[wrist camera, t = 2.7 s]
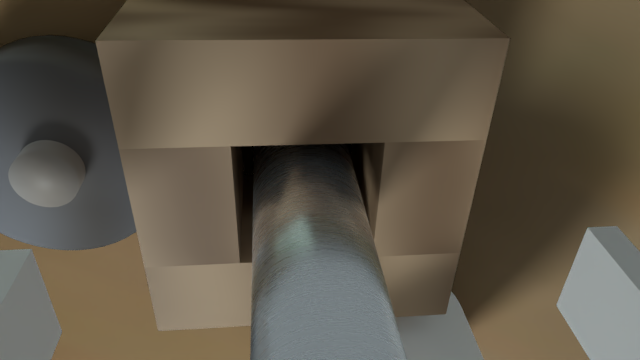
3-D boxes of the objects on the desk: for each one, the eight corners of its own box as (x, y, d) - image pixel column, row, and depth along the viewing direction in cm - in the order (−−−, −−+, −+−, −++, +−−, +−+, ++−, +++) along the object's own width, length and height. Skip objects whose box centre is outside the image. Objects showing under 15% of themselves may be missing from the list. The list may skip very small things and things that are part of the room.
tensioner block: (13, 242, 21) (-47, 342, 17) (-87, -14, 16) (-213, 42, 11) (411, 226, 23) (445, 314, 19) (449, -12, 17) (510, 38, 13)
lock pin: (246, 173, 20) (229, 624, 9) (240, 76, 18) (207, 510, 7) (347, 170, 21) (458, 598, 9) (353, 75, 19) (511, 483, 7)
